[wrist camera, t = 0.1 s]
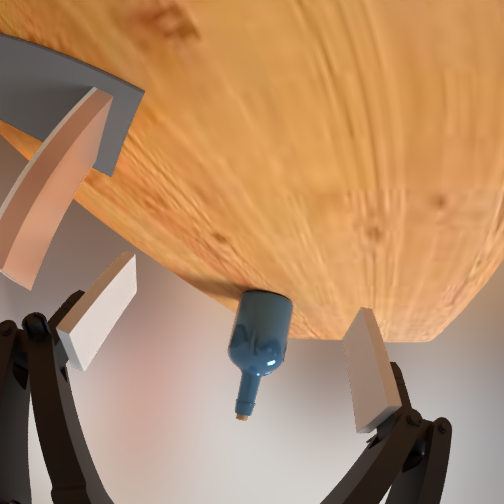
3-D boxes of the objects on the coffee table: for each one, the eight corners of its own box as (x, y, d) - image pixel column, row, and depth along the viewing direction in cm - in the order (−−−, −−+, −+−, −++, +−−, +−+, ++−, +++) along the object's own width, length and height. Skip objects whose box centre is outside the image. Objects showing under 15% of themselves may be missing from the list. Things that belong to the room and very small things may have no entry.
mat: (145, 91, 20) (142, 93, 20) (112, 174, 32) (110, 177, 32) (-9, 30, 9) (-11, 32, 8) (-4, 114, 21) (-6, 116, 21)
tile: (113, 96, 20) (2, 269, 12) (96, 160, 29) (30, 290, 21) (94, 86, 19) (-22, 254, 11) (81, 153, 28) (13, 280, 20)
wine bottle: (231, 287, 64) (201, 411, 51) (283, 289, 57) (254, 429, 44) (256, 306, 74) (232, 411, 61) (301, 308, 68) (279, 423, 55)
